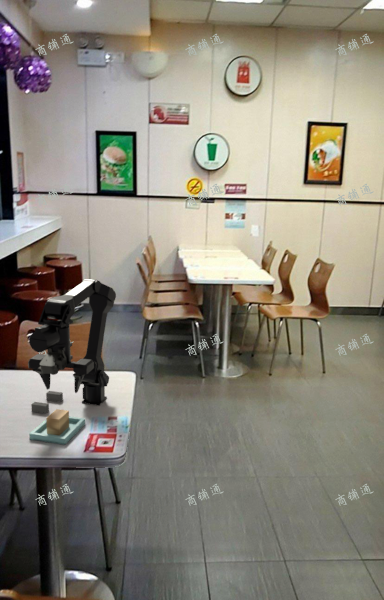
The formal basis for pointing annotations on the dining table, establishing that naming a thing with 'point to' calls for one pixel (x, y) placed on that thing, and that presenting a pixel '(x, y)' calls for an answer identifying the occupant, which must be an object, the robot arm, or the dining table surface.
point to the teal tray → (42, 435)
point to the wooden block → (57, 422)
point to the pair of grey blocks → (44, 406)
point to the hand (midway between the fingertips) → (62, 390)
